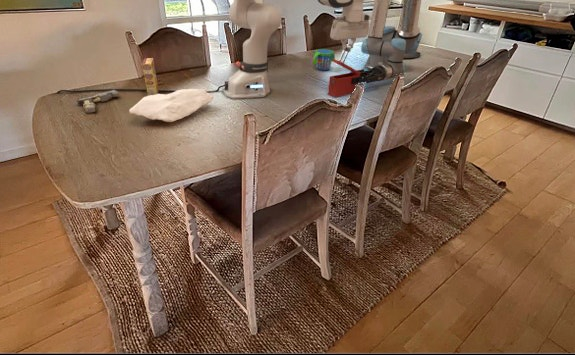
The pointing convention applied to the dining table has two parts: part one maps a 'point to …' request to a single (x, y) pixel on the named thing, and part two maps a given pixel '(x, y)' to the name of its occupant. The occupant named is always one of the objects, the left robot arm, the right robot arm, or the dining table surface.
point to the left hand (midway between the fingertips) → (347, 48)
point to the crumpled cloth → (171, 104)
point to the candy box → (150, 76)
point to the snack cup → (323, 58)
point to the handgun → (95, 100)
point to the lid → (344, 60)
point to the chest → (341, 84)
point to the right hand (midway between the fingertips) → (347, 79)
